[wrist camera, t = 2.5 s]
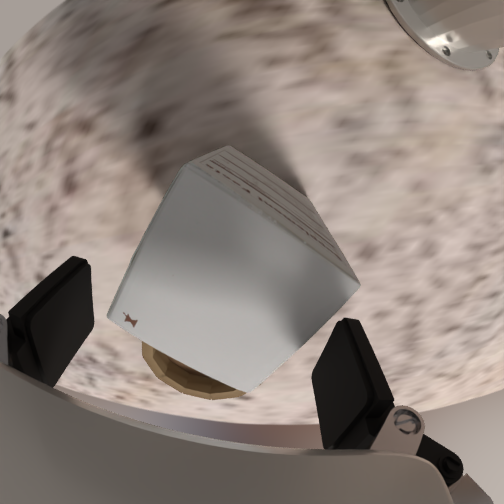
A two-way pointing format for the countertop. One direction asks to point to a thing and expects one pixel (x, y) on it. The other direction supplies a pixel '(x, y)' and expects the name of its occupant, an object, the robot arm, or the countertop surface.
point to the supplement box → (232, 272)
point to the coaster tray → (186, 376)
